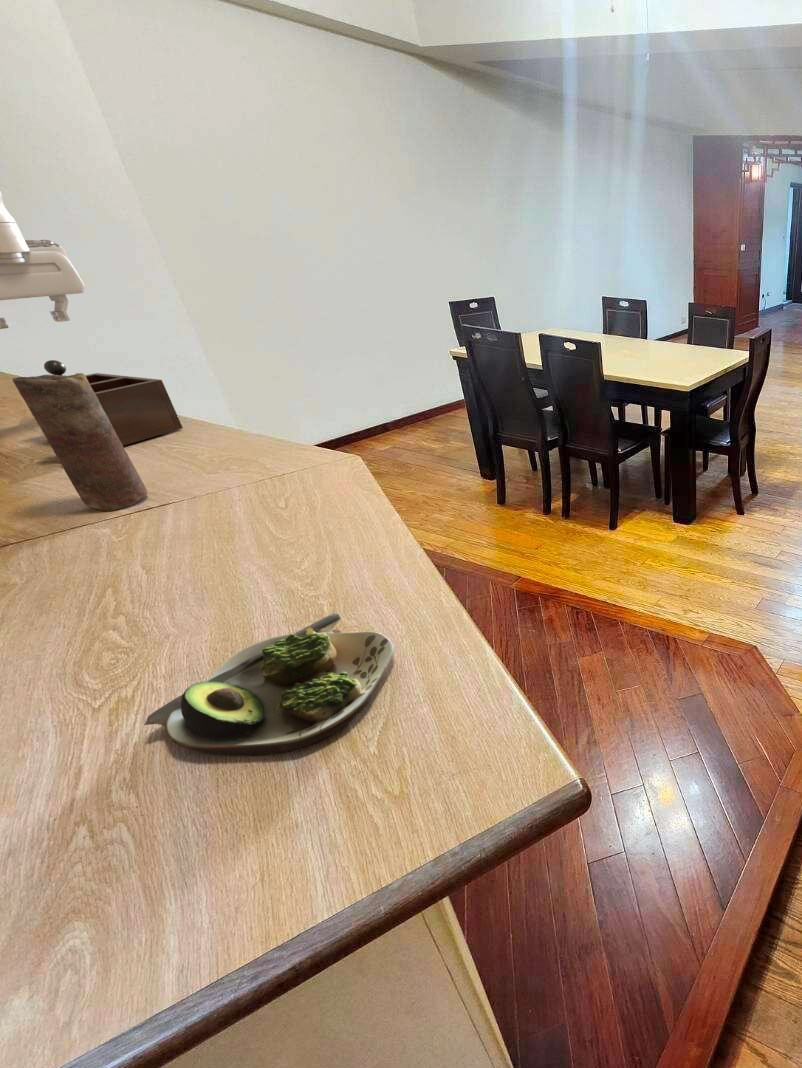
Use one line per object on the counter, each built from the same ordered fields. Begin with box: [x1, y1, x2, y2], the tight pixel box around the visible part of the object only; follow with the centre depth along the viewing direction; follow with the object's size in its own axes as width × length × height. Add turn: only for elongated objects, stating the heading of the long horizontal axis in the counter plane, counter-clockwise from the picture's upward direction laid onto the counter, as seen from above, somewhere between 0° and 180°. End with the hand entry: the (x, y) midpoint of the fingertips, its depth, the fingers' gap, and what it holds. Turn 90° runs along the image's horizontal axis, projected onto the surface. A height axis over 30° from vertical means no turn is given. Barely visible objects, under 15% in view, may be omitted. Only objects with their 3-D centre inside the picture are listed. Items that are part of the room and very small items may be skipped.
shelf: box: [43, 359, 184, 447], centre depth 115 cm, size 17×13×14 cm
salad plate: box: [143, 613, 396, 757], centre depth 59 cm, size 19×18×5 cm
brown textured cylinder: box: [12, 372, 148, 512], centre depth 88 cm, size 8×7×20 cm
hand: (32, 324), depth 109 cm, fingers open, 8 cm apart
